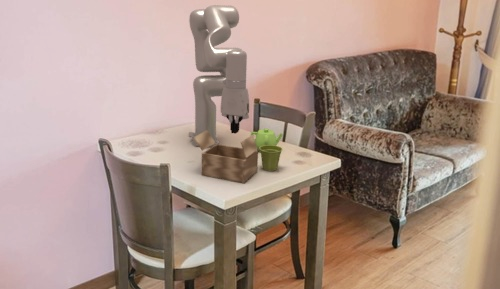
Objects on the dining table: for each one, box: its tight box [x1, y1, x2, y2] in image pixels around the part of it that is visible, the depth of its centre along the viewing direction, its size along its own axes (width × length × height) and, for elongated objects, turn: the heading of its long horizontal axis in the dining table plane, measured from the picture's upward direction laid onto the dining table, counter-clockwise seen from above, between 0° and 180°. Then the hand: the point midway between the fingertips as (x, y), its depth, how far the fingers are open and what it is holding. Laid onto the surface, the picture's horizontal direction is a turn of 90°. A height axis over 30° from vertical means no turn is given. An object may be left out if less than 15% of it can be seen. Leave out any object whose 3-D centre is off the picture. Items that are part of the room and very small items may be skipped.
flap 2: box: [240, 134, 258, 158], centre depth 186 cm, size 6×11×1 cm
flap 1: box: [194, 130, 215, 151], centre depth 192 cm, size 6×11×1 cm
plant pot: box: [259, 145, 283, 172], centre depth 198 cm, size 9×9×9 cm
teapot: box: [250, 128, 284, 153], centre depth 221 cm, size 12×12×10 cm
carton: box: [201, 143, 259, 185], centre depth 191 cm, size 18×13×9 cm
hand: (234, 132), depth 186 cm, fingers closed
